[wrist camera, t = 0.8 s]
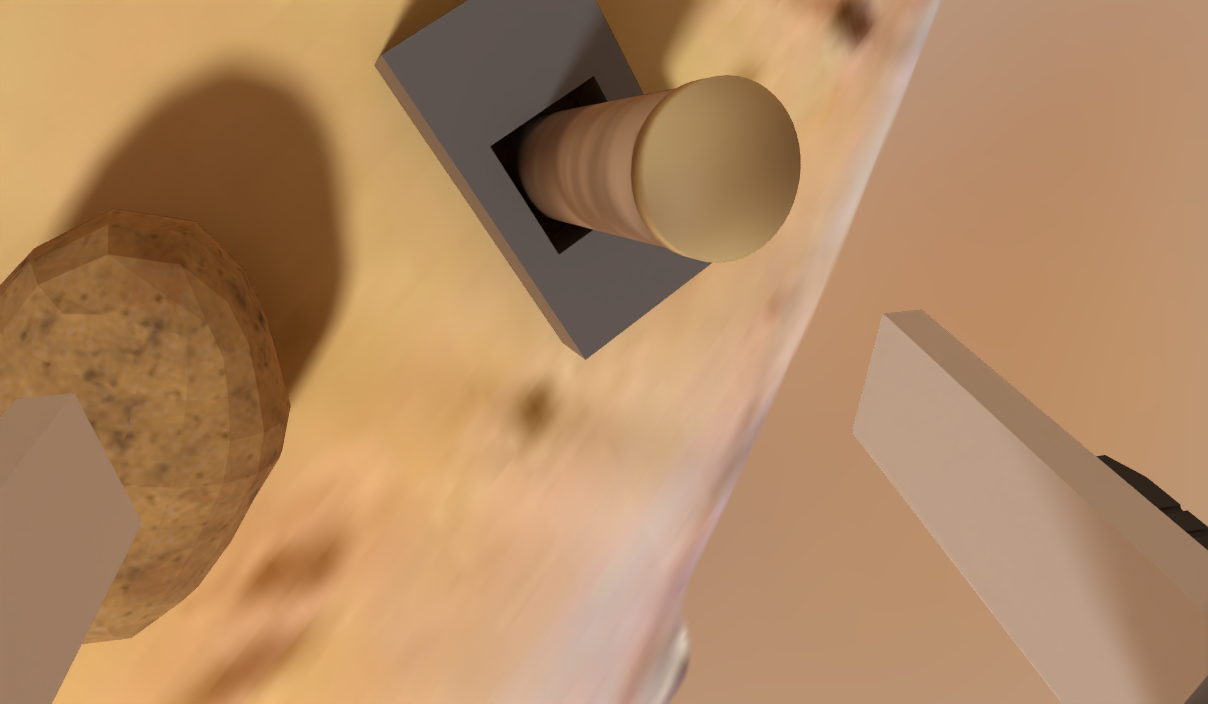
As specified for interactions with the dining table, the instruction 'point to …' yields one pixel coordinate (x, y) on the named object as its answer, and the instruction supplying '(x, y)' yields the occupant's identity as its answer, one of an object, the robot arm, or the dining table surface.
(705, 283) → the dining table surface
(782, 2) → the dining table surface
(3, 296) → the potato
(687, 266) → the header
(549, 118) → the plug
